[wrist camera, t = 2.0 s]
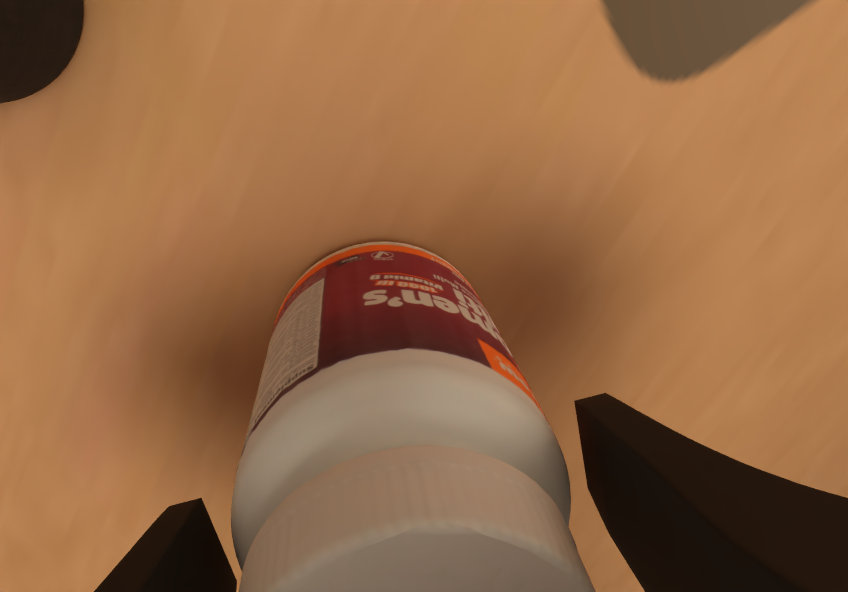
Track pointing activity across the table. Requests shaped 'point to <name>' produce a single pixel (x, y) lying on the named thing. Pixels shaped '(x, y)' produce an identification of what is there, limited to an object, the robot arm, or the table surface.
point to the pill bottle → (398, 442)
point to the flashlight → (35, 43)
